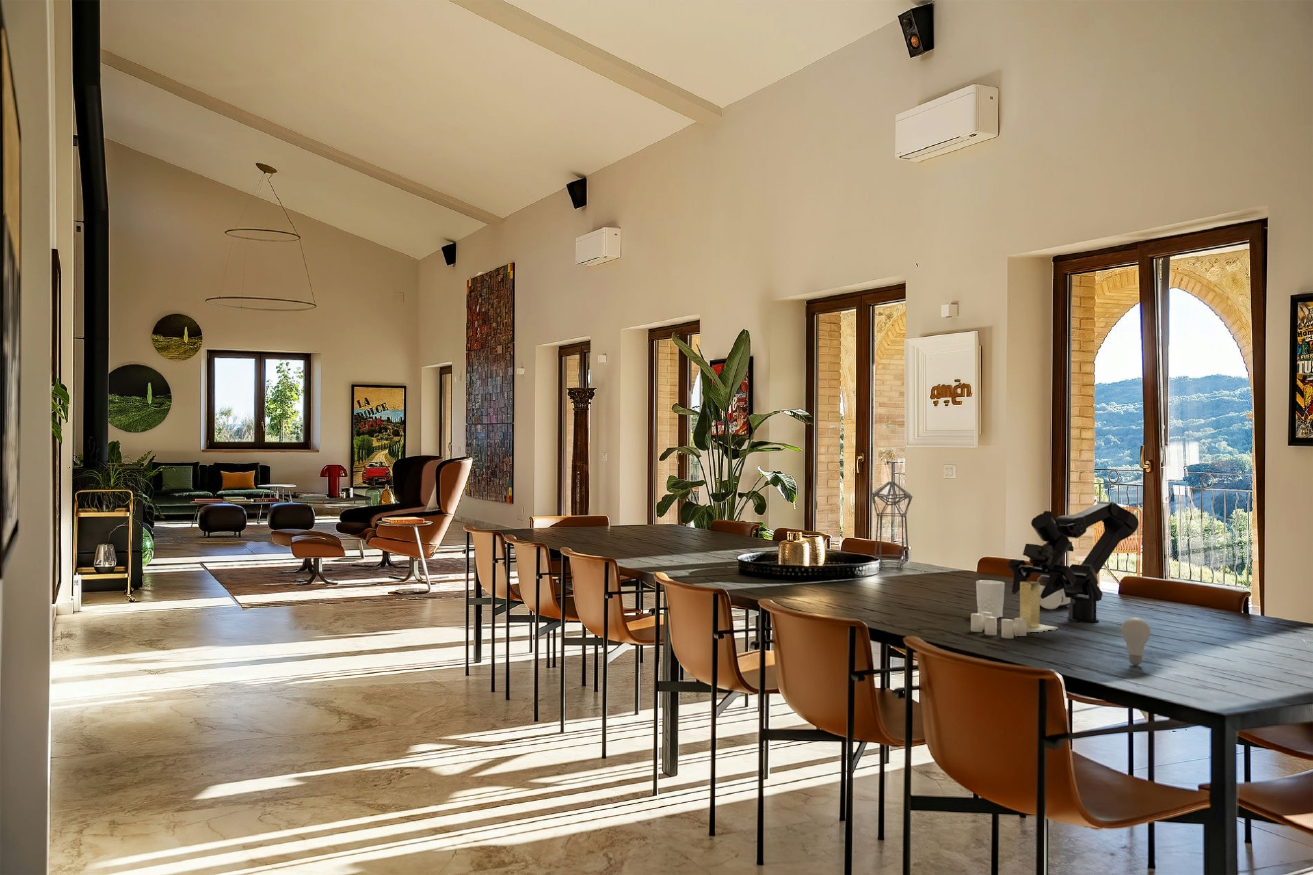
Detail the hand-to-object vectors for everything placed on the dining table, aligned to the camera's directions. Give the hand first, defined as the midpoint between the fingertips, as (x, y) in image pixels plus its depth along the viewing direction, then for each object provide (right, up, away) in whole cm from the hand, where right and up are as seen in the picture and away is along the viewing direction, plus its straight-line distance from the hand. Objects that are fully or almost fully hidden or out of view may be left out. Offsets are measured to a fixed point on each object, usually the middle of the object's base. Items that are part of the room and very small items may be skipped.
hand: (1027, 595), depth 275 cm
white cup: (-4, -9, +20) cm, 22 cm away
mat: (+1, -9, +1) cm, 9 cm away
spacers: (-10, -9, -7) cm, 15 cm away
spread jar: (+21, -10, +36) cm, 43 cm away
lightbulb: (+8, -9, -45) cm, 46 cm away
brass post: (+1, -8, +1) cm, 9 cm away
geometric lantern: (-8, -10, +126) cm, 126 cm away
